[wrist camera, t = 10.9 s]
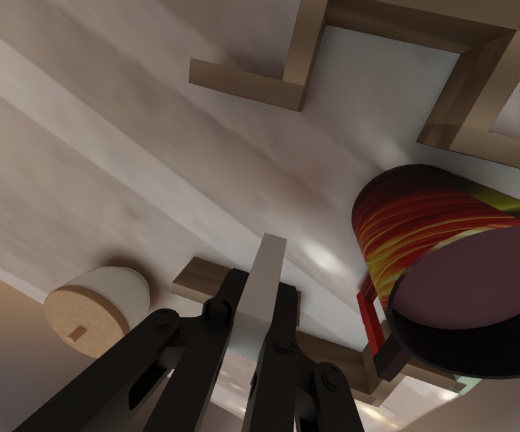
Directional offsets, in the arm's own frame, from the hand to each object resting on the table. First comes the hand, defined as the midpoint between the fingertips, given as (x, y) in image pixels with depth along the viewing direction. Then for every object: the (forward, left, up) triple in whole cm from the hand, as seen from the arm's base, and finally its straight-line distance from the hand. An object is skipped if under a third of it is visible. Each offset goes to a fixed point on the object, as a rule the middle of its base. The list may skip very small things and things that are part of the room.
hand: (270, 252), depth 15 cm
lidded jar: (+19, -18, -9) cm, 28 cm away
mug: (-1, +12, -9) cm, 15 cm away
